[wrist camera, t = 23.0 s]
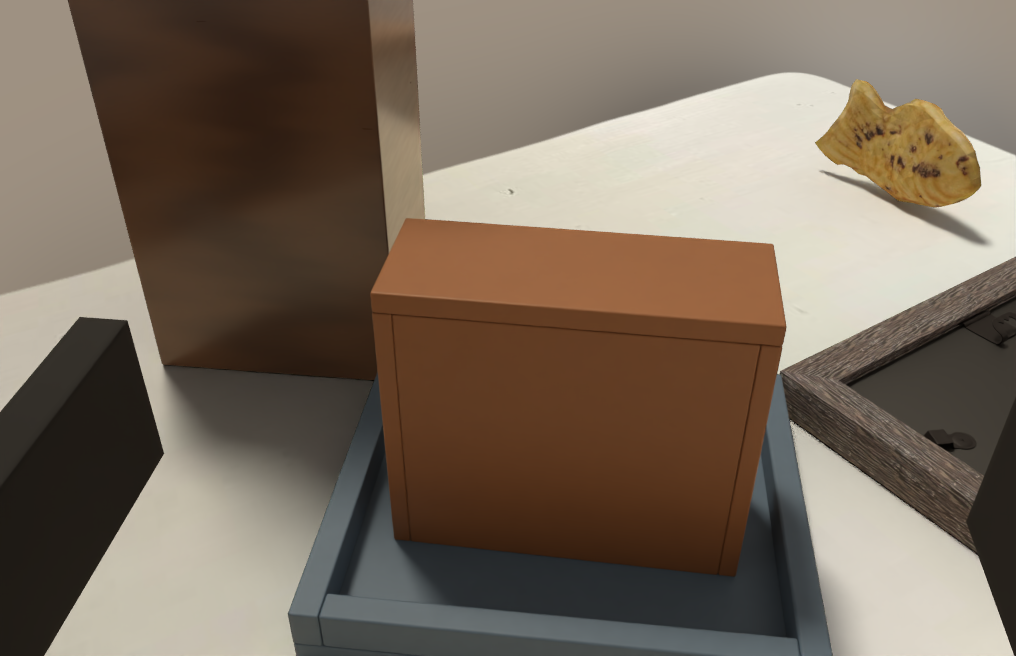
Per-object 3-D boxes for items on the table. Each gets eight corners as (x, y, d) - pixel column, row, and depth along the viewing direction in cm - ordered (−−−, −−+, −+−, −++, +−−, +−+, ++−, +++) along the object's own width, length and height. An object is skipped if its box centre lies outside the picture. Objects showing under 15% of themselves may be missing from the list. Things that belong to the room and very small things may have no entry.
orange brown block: (393, 539, 28) (369, 292, 23) (421, 452, 31) (405, 216, 26) (735, 577, 27) (787, 326, 22) (730, 482, 30) (773, 242, 25)
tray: (295, 658, 26) (286, 614, 25) (390, 385, 35) (386, 345, 34) (822, 712, 24) (836, 668, 23) (773, 414, 34) (781, 373, 33)
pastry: (978, 228, 44) (1010, 126, 42) (958, 238, 44) (990, 134, 41) (824, 160, 50) (844, 66, 47) (805, 167, 50) (823, 73, 47)
